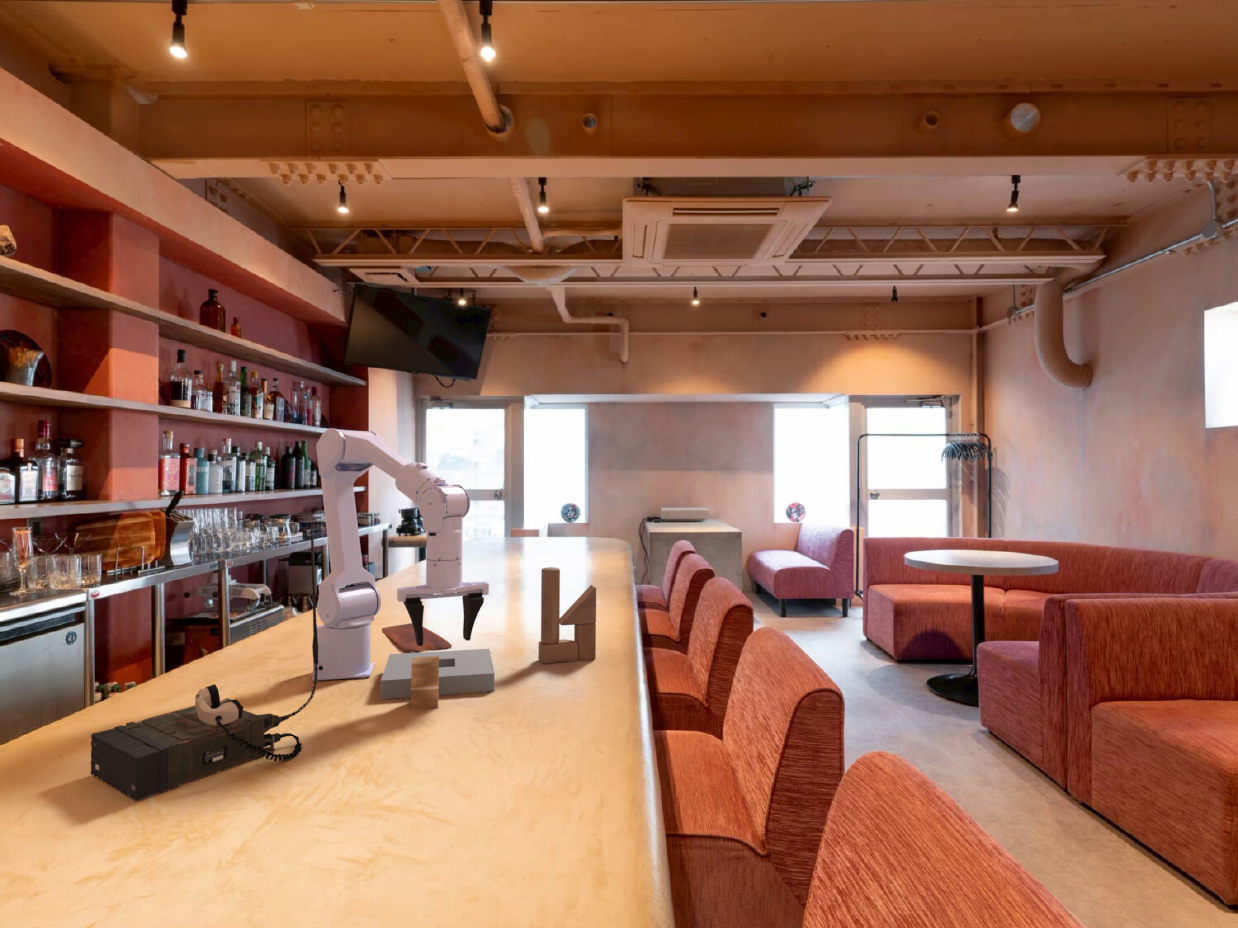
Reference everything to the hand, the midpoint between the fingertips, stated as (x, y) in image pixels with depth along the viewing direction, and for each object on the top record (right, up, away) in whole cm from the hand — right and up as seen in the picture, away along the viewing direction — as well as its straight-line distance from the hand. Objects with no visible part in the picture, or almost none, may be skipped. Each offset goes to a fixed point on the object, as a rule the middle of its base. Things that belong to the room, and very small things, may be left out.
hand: (443, 641), depth 111 cm
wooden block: (+19, -9, +21) cm, 30 cm away
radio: (-22, -9, -24) cm, 34 cm away
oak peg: (-2, -9, -4) cm, 10 cm away
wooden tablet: (-16, -10, +38) cm, 43 cm away
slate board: (-3, -9, +8) cm, 12 cm away
